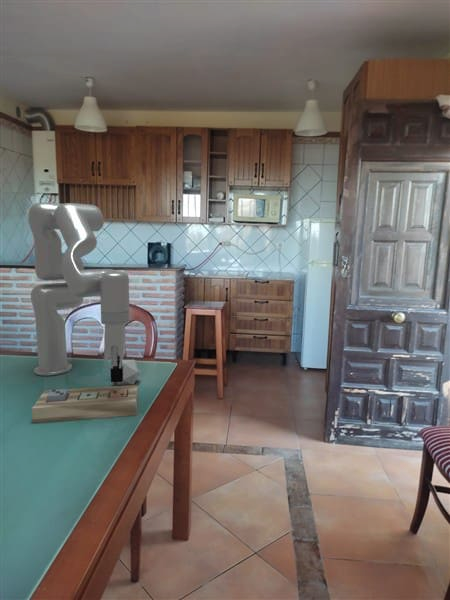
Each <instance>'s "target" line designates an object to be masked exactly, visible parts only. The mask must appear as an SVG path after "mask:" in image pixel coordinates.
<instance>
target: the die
mask: <svg viewBox="0 0 450 600" xmlns="http://www.w3.org/2000/svg"><path fill="white" fill-rule="evenodd" d="M122 366H123V381H122V382H116V384H117V386H130V385H135V383H136V381H137V379H138V378H139V376H140V374H141V371H140V368H139V366H138V364H137V361H136V360H135V359H122Z"/></svg>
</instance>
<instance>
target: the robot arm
mask: <svg viewBox="0 0 450 600" xmlns="http://www.w3.org/2000/svg"><path fill="white" fill-rule="evenodd" d="M104 218H105V217H104V214H103V213H102V211H101V209H100V208H99V207H98V206H96V205H93V204H86V203H76V202H75V203H74V202H66V203H57V202H37V203H34V204H32V205H31V206H30V208H29V210H28V218H27V219H28V224H29V227H30V231H31V233H32V236H33V242H34V269H35V275H36V277H37V278H38V279H39V280H41V281H42V280H43V281H60V280H61V281H62V280H64V281H65V282H53V283H43V284H39V285H36V286H34V287H33V288H32V290H31V292H30V301H31V305H32V309H33V313H34V319H35V320H34V321H35V331H36V332H35V333H36V345H37V346H36V347H37V348H36V349H37V360H38V361H37V362H38V365H37V366H36V367H35V368H34V369H33V372H34V374H35V375H38V376H42V377H43V376H57V375H62V374H65V373H68V372H70V371H71V370H72V369H73V364H72V363H70V362H68V354H67V353H68V351H67V338H66V336H67V335H66V322H65V319H64V318H63V316H61V314H60V313H59V312H58V311H59V310H66V309H73V308H78V307H80V306H82V304H83V302H84V298H91V297H100V322H101V325H104V335H103V337H104V338H103V339H104V340H103V342H104V343H103V344H104V345H103V346H104V347H103V348H104V349H103V350H104V352H103V353H104V359H103V360H104V361H105V362H107V361H109V360H110V382H111V383H117V382H122V381H123V366H122V360H124V356H125V352H126V351H125V350H126V324H129V323H130V313H131V312H130V277H129V274H127V272H125V271H117V270H115V269H113V268H100V269H99V268H97V269H91V268H90V269H84V268H85V267H84V262H83V259H82V257H85V256H87V255H89V254H90V253H91V252H93V251H94V250H95V249H96V247H97V244H98V241H97V238H96V236H95V233H94V232H99V231H101V230H102V229H103V227H104V223H105V219H104ZM57 230H58V231H60V234H61V235H62V238H63V240H64V242H65V244H66V246H67V248H66V249H65V250H64V252H63V251H62V250H63V249H62V248H63V247H62V245H63V243H62V242H63V241H62V239H61V237H60V235H59V234H58V231H57Z"/></svg>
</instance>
